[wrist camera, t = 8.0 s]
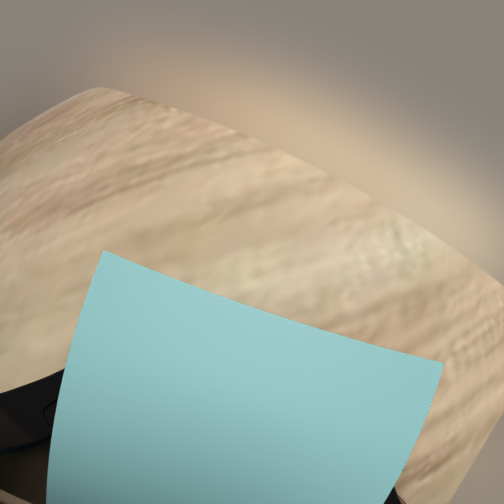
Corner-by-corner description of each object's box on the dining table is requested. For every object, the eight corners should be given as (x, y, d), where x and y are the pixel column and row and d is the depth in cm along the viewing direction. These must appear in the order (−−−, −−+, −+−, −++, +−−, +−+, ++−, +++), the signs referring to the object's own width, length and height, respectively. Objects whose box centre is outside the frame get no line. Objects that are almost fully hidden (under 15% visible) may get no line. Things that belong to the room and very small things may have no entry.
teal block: (277, 425, 14) (308, 596, 2) (188, 394, 14) (45, 504, 3) (309, 339, 15) (444, 363, 3) (218, 309, 15) (103, 249, 4)
